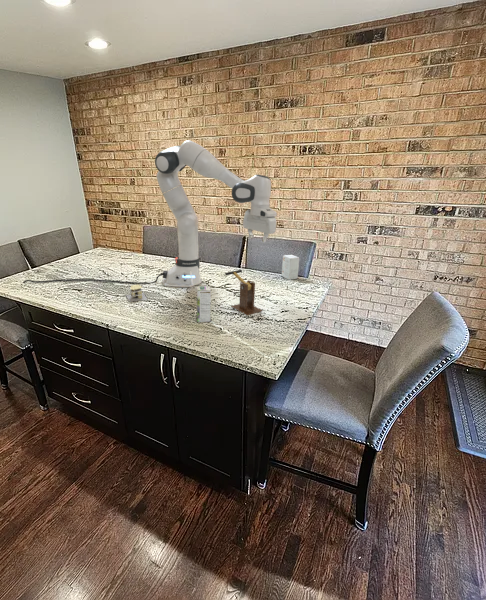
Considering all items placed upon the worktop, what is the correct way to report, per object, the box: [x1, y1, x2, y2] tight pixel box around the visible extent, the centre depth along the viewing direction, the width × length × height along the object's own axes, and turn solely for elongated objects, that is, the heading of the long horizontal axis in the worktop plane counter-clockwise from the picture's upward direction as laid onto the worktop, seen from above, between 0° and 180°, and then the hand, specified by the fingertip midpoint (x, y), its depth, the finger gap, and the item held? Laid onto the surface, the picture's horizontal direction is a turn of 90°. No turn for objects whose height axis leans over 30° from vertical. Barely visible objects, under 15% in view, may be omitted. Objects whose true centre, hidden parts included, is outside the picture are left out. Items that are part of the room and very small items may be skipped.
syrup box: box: [196, 285, 212, 323], centre depth 144 cm, size 6×6×14 cm
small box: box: [281, 254, 300, 281], centre depth 200 cm, size 8×6×13 cm
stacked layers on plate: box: [126, 284, 148, 303], centre depth 171 cm, size 10×9×6 cm
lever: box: [224, 269, 252, 290], centre depth 153 cm, size 13×9×2 cm
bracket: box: [230, 279, 263, 316], centre depth 152 cm, size 12×9×14 cm
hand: (257, 240), depth 165 cm, fingers open, 8 cm apart
